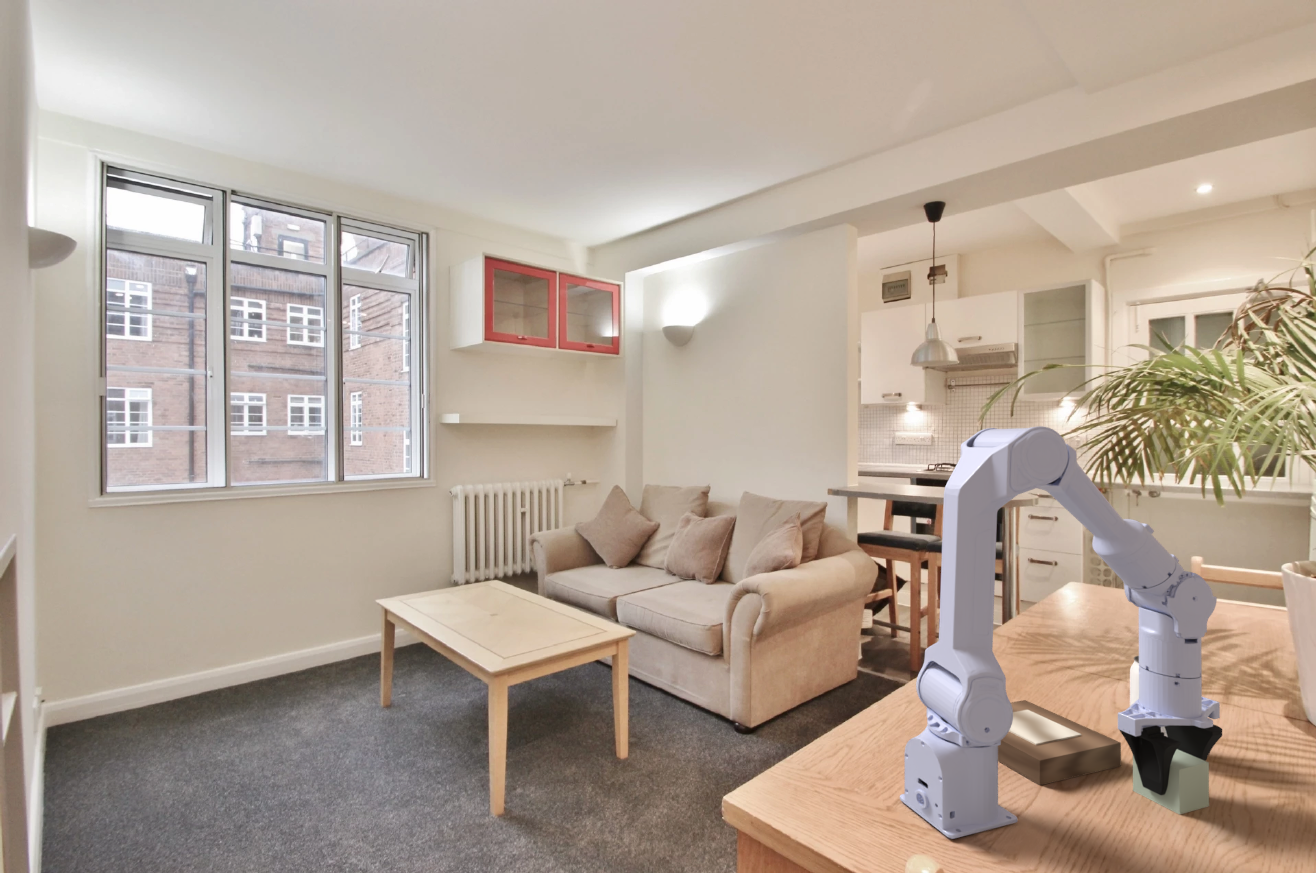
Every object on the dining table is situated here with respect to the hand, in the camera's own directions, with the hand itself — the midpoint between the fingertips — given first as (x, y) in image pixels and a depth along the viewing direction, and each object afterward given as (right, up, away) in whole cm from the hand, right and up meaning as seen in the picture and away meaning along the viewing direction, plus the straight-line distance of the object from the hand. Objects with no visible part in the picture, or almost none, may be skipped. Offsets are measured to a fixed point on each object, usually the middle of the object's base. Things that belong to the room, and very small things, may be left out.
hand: (1170, 786), depth 73 cm
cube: (0, -1, 0) cm, 1 cm away
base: (-9, -2, +12) cm, 15 cm away
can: (+8, -2, +11) cm, 14 cm away
